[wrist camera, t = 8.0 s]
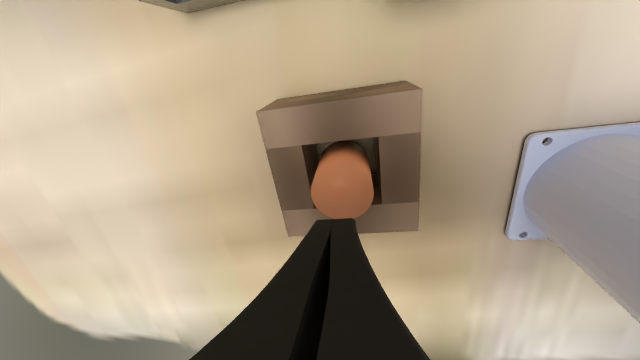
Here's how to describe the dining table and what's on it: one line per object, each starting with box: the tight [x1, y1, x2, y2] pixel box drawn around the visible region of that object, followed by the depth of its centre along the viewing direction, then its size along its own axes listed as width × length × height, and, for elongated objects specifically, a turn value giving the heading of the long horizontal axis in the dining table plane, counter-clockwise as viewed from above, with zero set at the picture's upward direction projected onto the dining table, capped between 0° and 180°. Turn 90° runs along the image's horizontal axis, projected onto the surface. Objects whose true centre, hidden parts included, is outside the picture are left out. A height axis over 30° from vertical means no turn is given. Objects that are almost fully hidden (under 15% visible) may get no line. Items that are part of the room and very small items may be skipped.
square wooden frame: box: [256, 81, 422, 237], centre depth 15 cm, size 8×8×4 cm
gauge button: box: [311, 141, 374, 219], centre depth 13 cm, size 3×3×4 cm
